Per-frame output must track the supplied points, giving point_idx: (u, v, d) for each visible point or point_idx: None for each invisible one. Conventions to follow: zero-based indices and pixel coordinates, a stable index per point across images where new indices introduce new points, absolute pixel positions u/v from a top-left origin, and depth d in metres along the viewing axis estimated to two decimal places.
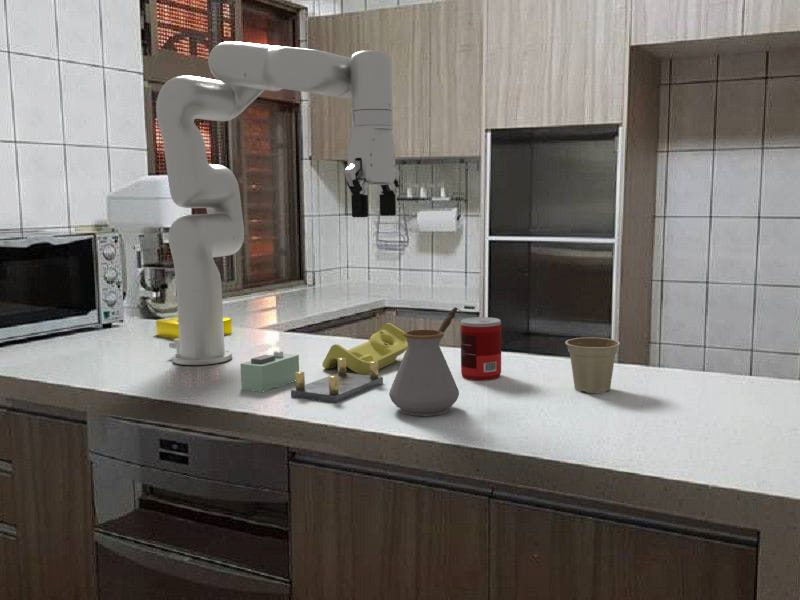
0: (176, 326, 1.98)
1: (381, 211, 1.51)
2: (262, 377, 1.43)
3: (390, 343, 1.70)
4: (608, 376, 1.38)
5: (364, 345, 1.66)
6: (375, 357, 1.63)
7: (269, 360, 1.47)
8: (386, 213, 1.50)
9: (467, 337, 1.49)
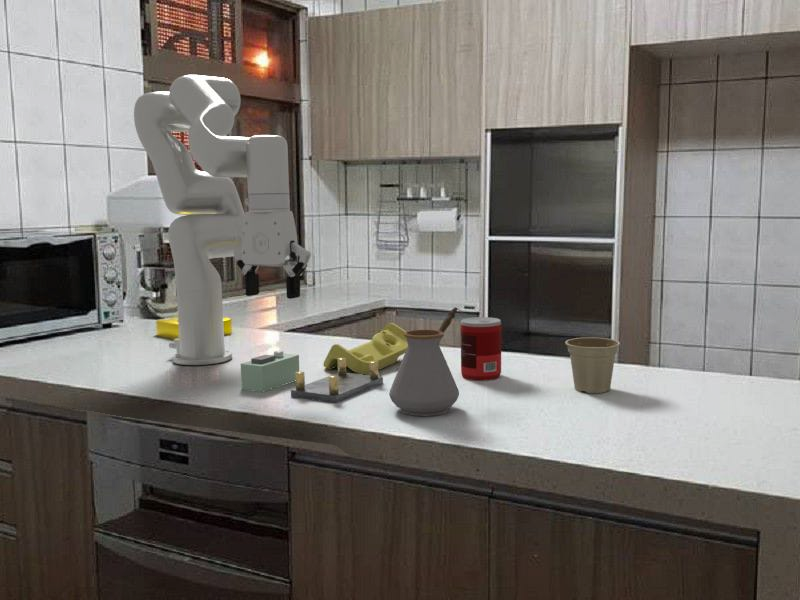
0: (176, 326, 1.98)
1: (250, 292, 1.48)
2: (262, 377, 1.43)
3: (392, 343, 1.70)
4: (608, 376, 1.38)
5: (366, 345, 1.66)
6: (376, 357, 1.63)
7: (269, 360, 1.47)
8: (254, 293, 1.49)
9: (467, 337, 1.49)
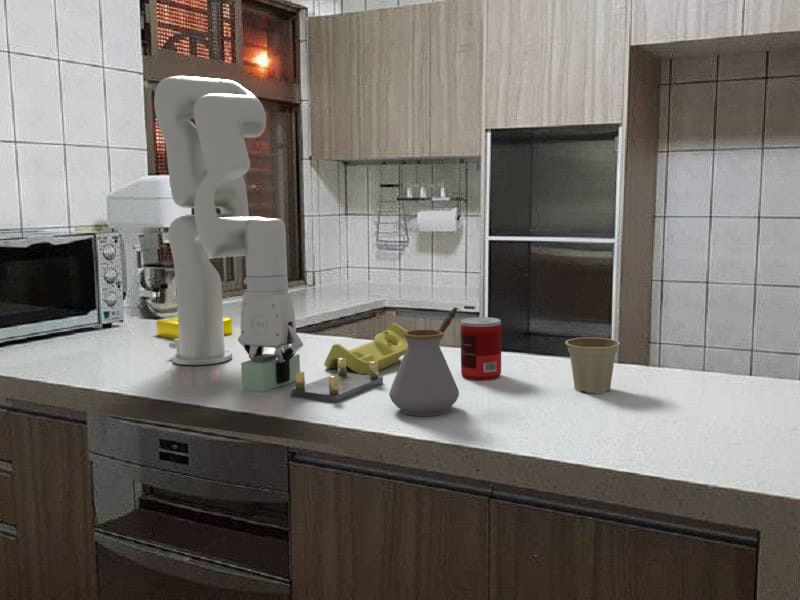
0: (176, 326, 1.98)
1: None
2: (263, 376, 1.43)
3: (395, 343, 1.70)
4: (608, 376, 1.38)
5: (367, 345, 1.66)
6: (377, 357, 1.63)
7: (270, 359, 1.47)
8: None
9: (467, 337, 1.49)
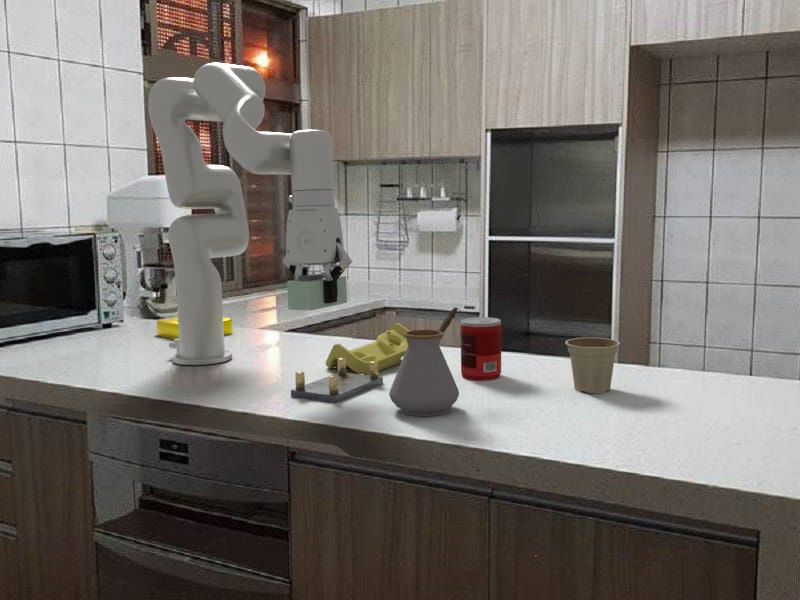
0: (176, 326, 1.98)
1: None
2: (310, 293, 1.37)
3: (397, 343, 1.70)
4: (608, 376, 1.38)
5: (370, 345, 1.66)
6: (379, 357, 1.63)
7: (317, 278, 1.41)
8: None
9: (467, 337, 1.49)
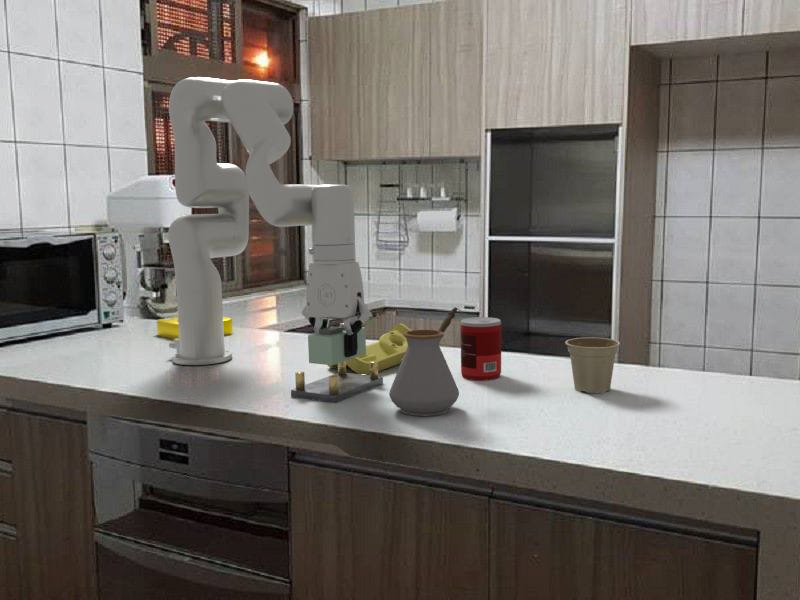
0: (176, 326, 1.98)
1: None
2: (332, 348, 1.37)
3: (400, 344, 1.69)
4: (608, 376, 1.38)
5: (372, 345, 1.66)
6: (380, 358, 1.62)
7: (337, 331, 1.41)
8: None
9: (467, 337, 1.49)
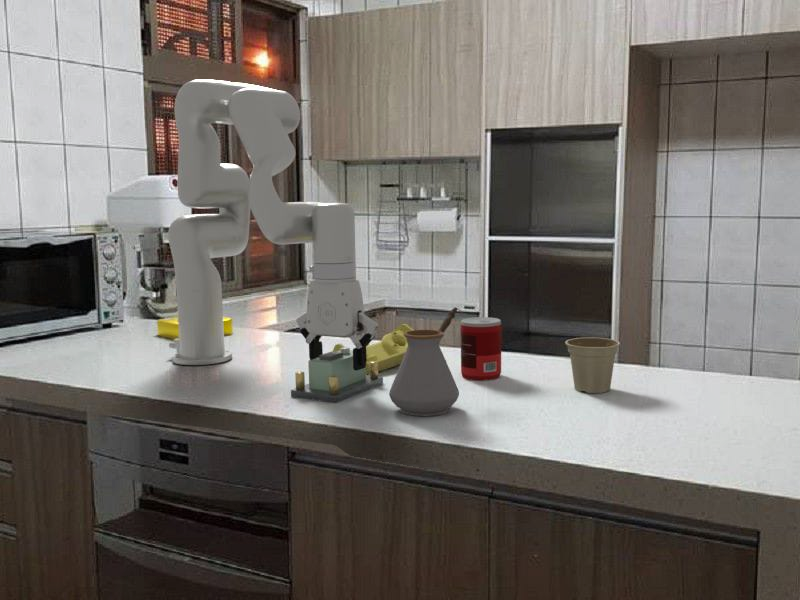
0: (176, 326, 1.98)
1: None
2: (332, 374, 1.38)
3: (403, 344, 1.69)
4: (608, 376, 1.38)
5: (374, 345, 1.66)
6: (382, 358, 1.62)
7: (337, 357, 1.41)
8: None
9: (467, 337, 1.49)
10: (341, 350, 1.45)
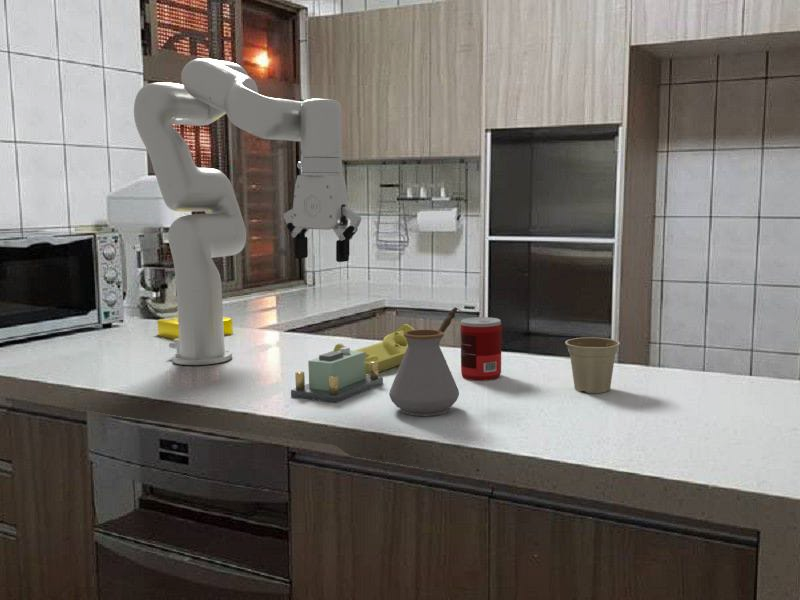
0: (176, 326, 1.98)
1: (299, 254, 1.50)
2: (332, 374, 1.38)
3: (404, 344, 1.68)
4: (608, 376, 1.38)
5: (375, 345, 1.65)
6: (383, 358, 1.62)
7: (337, 357, 1.41)
8: (302, 256, 1.51)
9: (467, 337, 1.49)
10: (341, 350, 1.45)
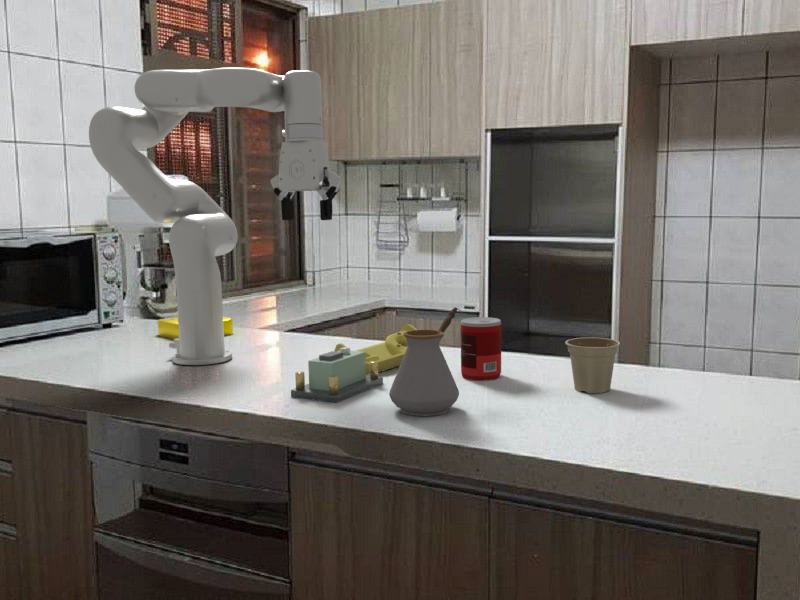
0: (176, 326, 1.98)
1: (285, 216, 1.63)
2: (332, 374, 1.38)
3: (407, 345, 1.68)
4: (608, 376, 1.38)
5: (377, 345, 1.65)
6: None
7: (337, 357, 1.41)
8: (289, 218, 1.64)
9: (467, 337, 1.49)
10: (341, 350, 1.45)
